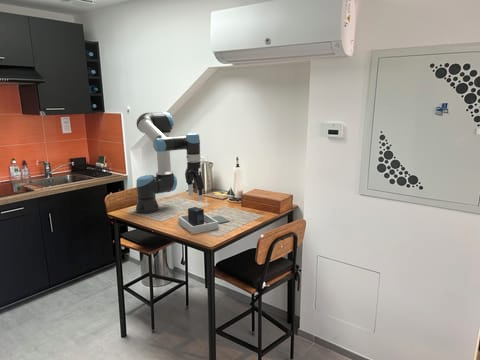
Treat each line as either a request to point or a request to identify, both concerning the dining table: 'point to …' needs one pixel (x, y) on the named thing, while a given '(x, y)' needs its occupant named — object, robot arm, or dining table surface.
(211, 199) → the dining table surface
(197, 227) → the bin
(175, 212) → the dining table surface
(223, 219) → the mat
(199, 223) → the box
